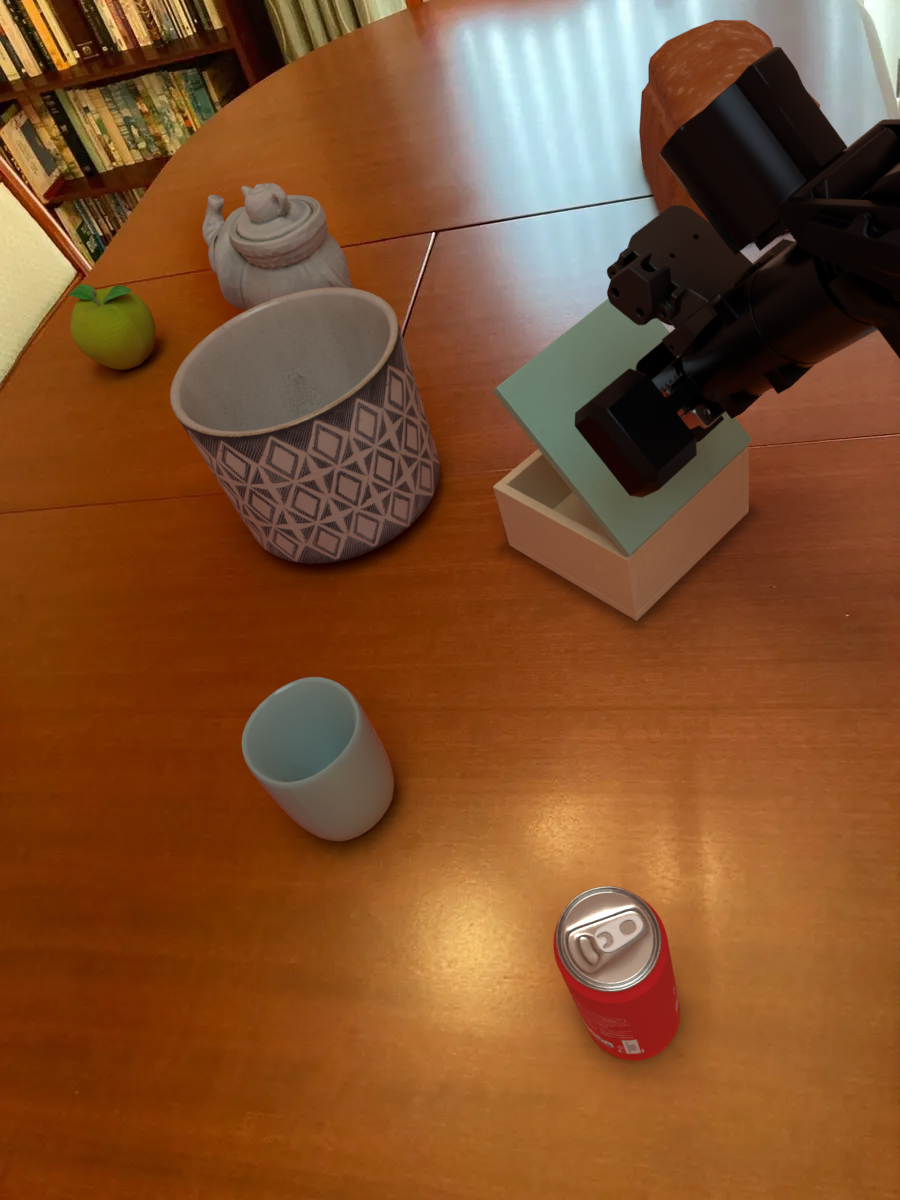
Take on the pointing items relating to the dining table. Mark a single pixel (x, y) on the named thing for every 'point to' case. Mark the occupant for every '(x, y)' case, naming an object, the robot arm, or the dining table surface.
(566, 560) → the cream square box
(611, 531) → the lid
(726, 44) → the bread
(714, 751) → the dining table surface
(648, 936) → the beverage can
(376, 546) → the planter
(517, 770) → the dining table surface
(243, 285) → the teapot
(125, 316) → the fruit
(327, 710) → the cup
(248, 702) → the dining table surface
